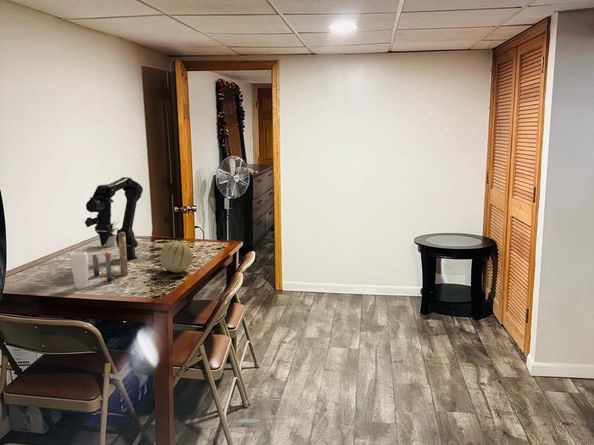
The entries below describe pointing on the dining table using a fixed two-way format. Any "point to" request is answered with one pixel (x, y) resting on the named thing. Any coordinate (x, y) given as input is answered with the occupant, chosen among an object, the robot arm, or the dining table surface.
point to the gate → (121, 256)
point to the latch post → (108, 268)
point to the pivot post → (96, 267)
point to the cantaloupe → (176, 256)
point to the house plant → (111, 238)
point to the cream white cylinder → (80, 269)
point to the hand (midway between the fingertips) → (103, 244)
